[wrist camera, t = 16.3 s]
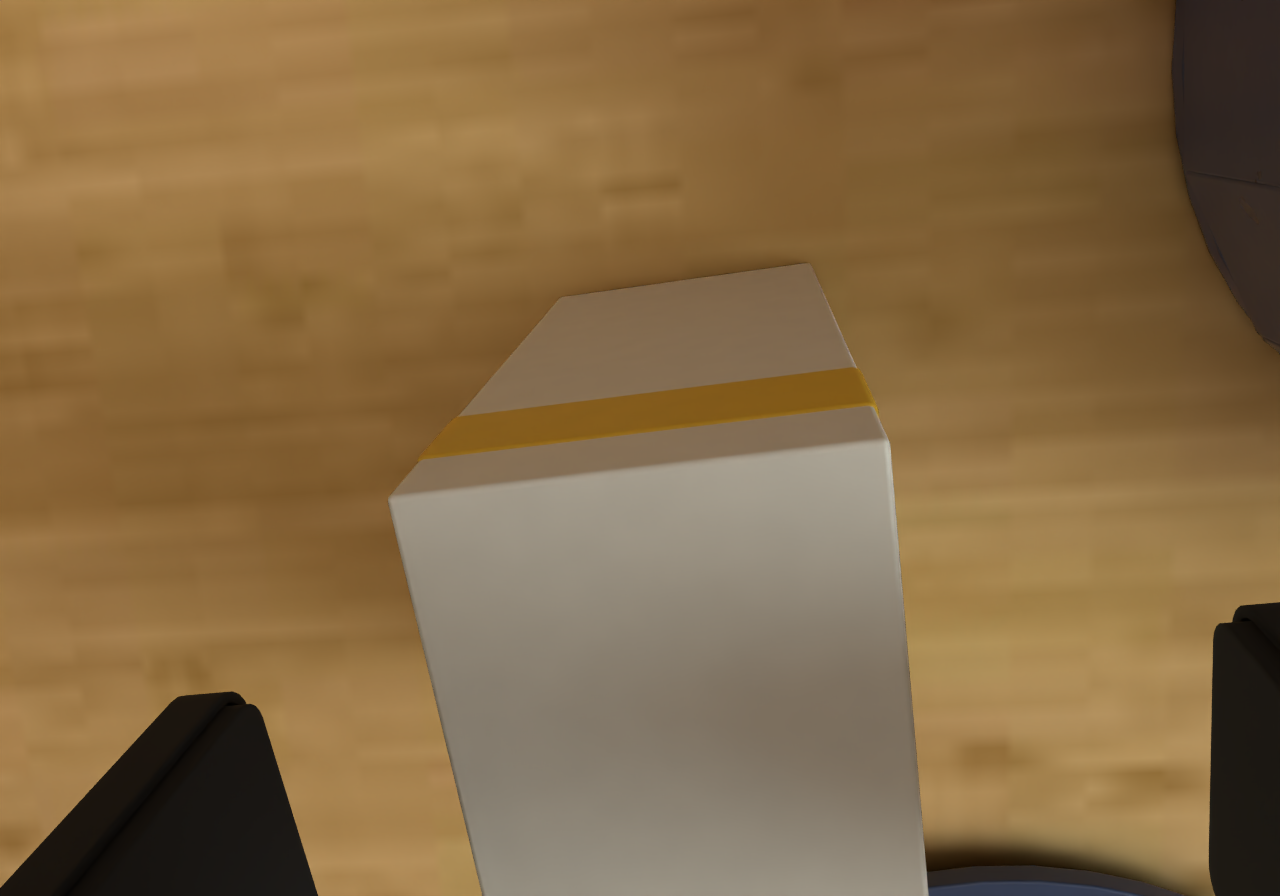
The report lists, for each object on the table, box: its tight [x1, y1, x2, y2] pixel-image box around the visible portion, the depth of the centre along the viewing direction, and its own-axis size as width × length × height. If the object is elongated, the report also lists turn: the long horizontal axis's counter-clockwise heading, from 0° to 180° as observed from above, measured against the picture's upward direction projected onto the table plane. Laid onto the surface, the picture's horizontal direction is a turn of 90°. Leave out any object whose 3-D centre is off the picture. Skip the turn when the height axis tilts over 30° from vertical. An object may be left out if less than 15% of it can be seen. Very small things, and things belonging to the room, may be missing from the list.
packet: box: [388, 263, 929, 896], centre depth 15 cm, size 5×8×10 cm, turn 9°
